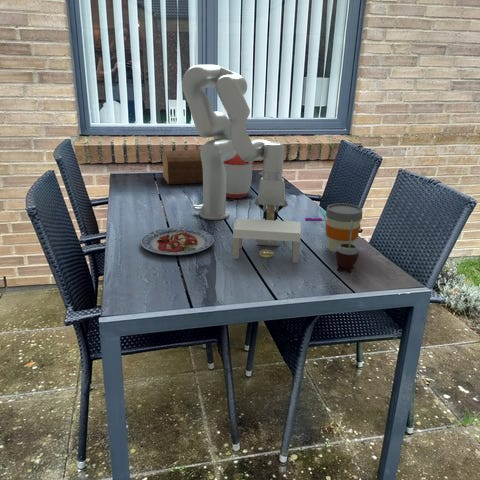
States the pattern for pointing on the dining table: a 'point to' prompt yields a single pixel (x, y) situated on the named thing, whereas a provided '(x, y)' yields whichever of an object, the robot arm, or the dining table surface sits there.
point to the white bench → (266, 233)
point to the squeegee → (318, 218)
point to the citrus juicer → (238, 177)
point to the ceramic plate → (177, 241)
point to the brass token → (266, 253)
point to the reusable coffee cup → (342, 224)
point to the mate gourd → (346, 255)
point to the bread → (182, 166)
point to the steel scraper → (269, 217)
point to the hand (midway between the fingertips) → (270, 220)
